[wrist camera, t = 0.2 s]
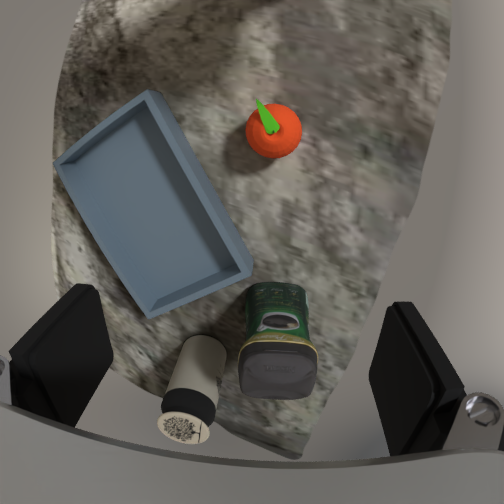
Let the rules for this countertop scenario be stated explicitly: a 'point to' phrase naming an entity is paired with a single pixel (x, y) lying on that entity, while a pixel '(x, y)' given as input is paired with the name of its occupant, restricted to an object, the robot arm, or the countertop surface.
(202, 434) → the travel mug
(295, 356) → the coffee jar
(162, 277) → the bin
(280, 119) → the clementine
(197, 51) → the countertop surface
